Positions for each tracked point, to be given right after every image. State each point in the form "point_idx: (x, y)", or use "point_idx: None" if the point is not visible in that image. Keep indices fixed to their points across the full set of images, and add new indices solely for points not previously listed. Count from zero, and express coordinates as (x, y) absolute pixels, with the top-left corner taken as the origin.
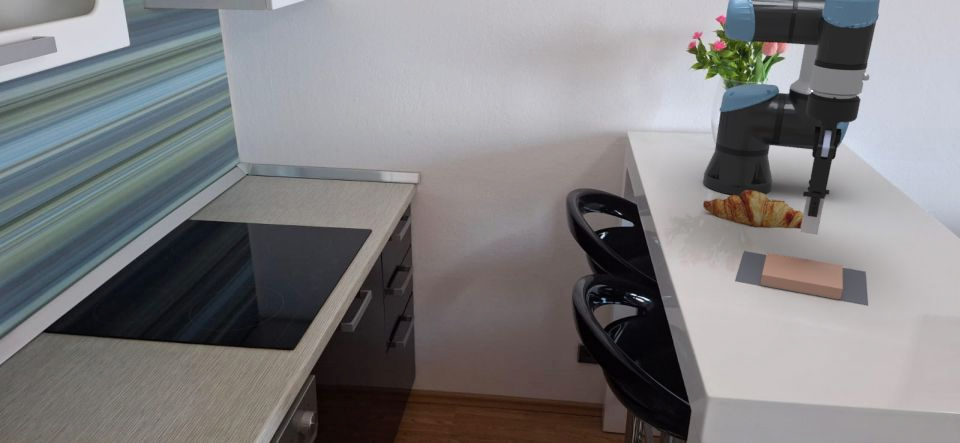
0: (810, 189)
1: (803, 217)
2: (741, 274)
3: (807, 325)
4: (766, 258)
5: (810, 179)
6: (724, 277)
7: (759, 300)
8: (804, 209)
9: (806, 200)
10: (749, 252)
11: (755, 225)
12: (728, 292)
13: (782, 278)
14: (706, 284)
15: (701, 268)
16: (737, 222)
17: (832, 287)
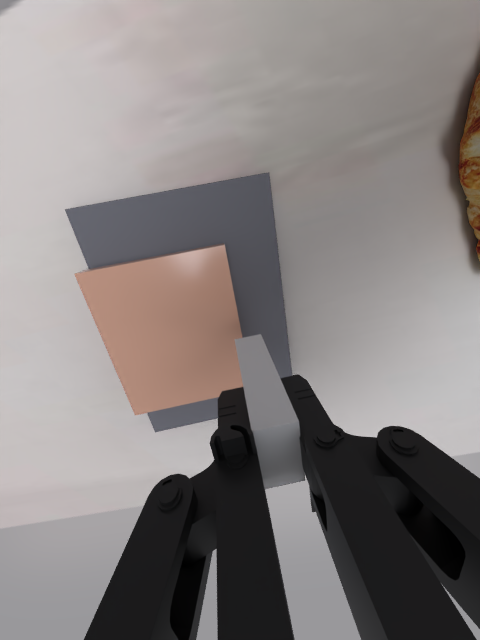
0: (130, 546)
1: (240, 366)
2: (115, 212)
3: (18, 376)
4: (184, 254)
5: (400, 466)
6: (97, 173)
7: (44, 281)
8: (243, 384)
9: (249, 413)
10: (266, 188)
11: (460, 147)
12: (22, 210)
13: (94, 317)
14: (17, 142)
15: (105, 91)
16: (475, 86)
17: (130, 400)
